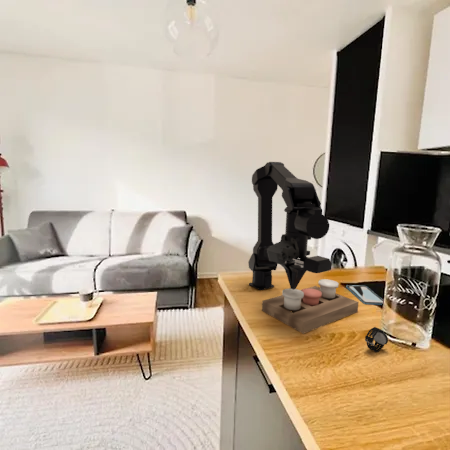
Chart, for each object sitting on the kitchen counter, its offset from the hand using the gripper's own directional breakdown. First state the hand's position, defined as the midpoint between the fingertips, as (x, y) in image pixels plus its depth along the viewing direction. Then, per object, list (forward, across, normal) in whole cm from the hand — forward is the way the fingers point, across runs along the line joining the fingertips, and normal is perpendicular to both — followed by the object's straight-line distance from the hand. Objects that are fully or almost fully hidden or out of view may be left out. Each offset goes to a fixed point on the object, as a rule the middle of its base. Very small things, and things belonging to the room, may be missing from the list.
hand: (293, 288), depth 79 cm
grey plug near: (+5, 0, 0) cm, 5 cm away
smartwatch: (+8, +21, +4) cm, 23 cm away
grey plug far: (+5, 0, +15) cm, 16 cm away
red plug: (+6, 0, +7) cm, 10 cm away
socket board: (+8, 0, +7) cm, 11 cm away
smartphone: (+9, +2, +33) cm, 34 cm away
